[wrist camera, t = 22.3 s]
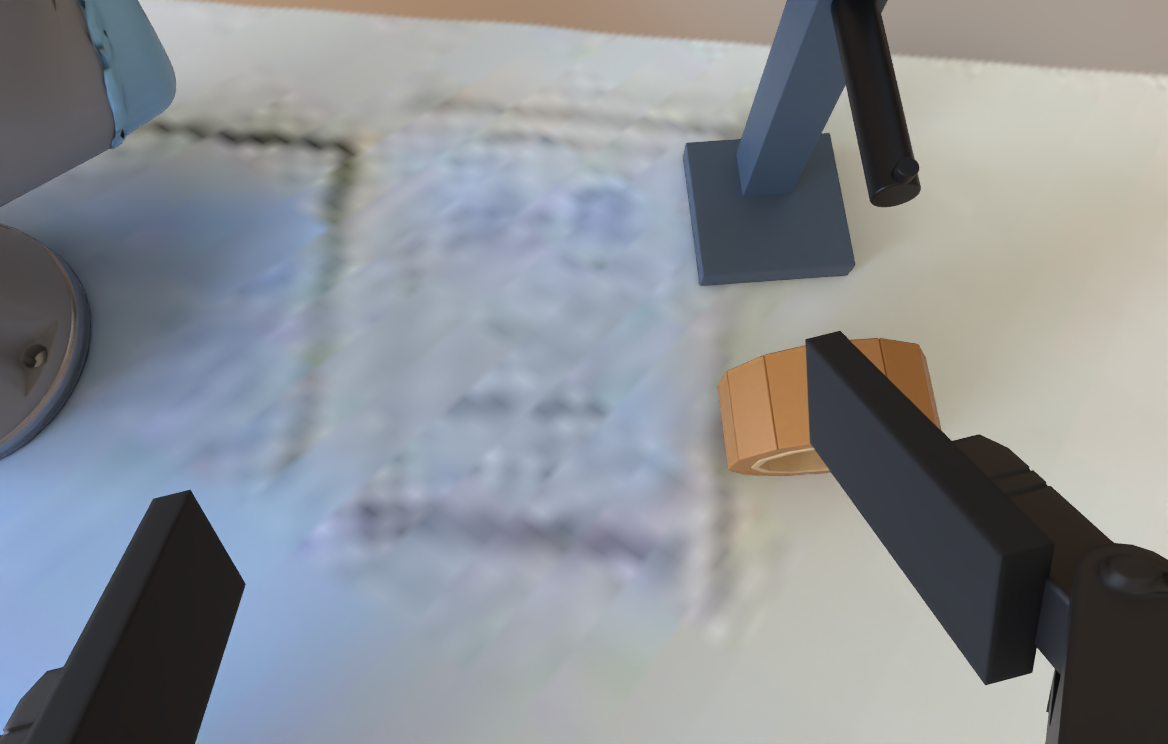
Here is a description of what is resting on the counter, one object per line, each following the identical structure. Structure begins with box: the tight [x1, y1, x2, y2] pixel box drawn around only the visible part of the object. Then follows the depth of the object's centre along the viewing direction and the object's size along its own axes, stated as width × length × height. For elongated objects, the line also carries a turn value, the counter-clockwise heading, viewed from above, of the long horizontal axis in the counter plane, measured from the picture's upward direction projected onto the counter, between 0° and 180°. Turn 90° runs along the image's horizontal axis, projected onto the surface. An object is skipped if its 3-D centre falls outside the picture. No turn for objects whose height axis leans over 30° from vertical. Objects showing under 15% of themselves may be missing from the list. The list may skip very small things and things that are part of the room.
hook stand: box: [683, 0, 921, 286], centre depth 37 cm, size 9×13×21 cm
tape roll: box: [718, 338, 941, 476], centre depth 38 cm, size 10×5×10 cm, turn 94°
